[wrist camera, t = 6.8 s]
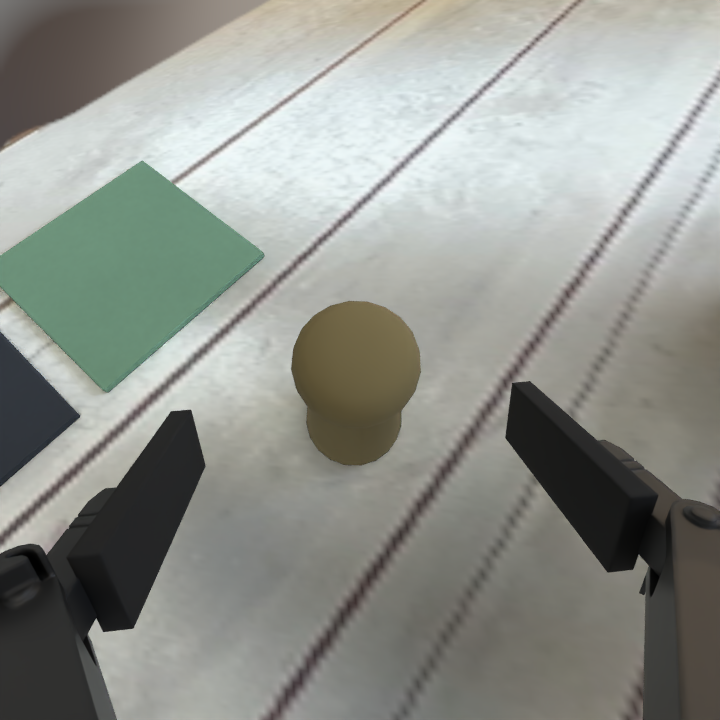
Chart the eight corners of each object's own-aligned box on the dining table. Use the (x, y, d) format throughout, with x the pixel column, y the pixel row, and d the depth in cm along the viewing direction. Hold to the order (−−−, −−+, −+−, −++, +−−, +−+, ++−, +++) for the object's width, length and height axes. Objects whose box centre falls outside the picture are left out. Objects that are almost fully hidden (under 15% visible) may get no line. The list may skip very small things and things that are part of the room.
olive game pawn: (317, 364, 25) (295, 265, 15) (407, 380, 25) (446, 290, 15) (296, 455, 23) (253, 411, 13) (394, 474, 23) (430, 443, 13)
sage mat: (145, 165, 31) (142, 160, 31) (264, 256, 28) (263, 252, 28) (-13, 272, 27) (-19, 268, 27) (107, 393, 24) (103, 390, 24)
